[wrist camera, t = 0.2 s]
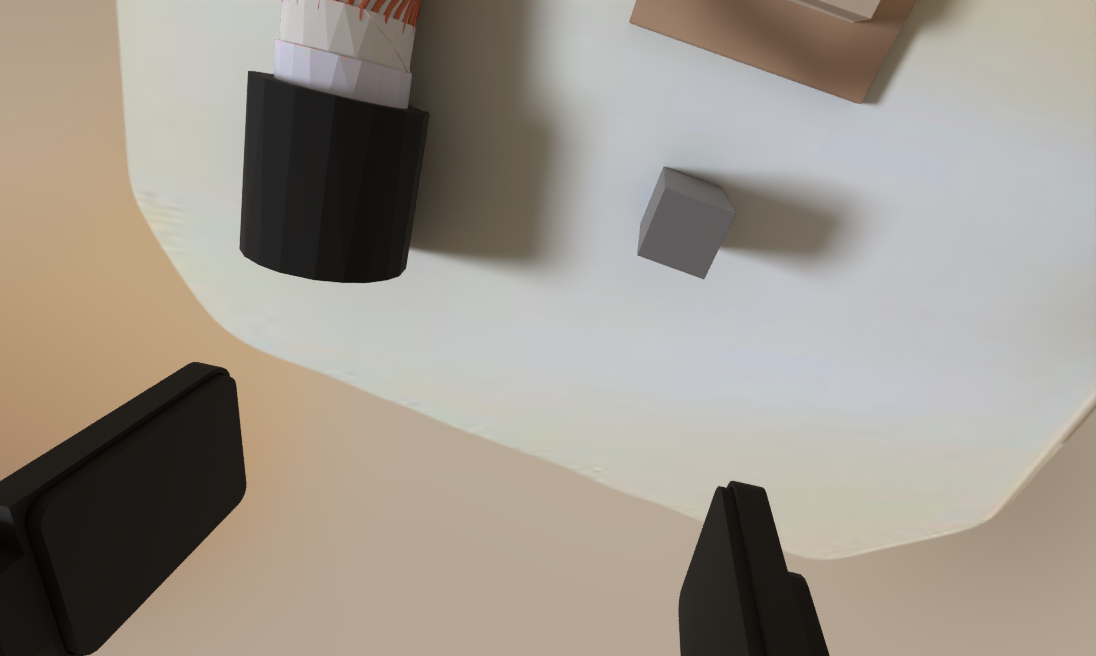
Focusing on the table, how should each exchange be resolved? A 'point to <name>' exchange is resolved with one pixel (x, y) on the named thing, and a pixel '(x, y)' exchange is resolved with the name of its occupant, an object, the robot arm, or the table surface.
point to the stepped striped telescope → (334, 143)
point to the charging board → (788, 36)
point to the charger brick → (684, 223)
